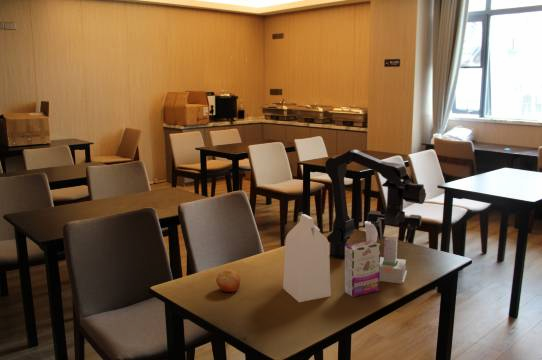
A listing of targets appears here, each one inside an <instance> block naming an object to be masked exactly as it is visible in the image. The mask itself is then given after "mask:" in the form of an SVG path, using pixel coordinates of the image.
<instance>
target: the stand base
mask: <svg viewBox="0 0 542 360" xmlns="http://www.w3.org/2000/svg"><path fill="white" fill-rule="evenodd" d="M383 261H384V256H383V257H382V256H380V278H379V282H386V283H393V284H394V283H395V284H401V285H404V284H405V282H406V281H405V280H406V278H407V274H408V270H406V269H407V266H406V265H407V259H402V258H397V263H396V266H391V265H384V264H383Z"/></svg>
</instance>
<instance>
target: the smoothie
mask: <svg viewBox="0 0 542 360" xmlns="http://www.w3.org/2000/svg"><path fill="white" fill-rule="evenodd" d="M364 226H365V238H366V241H374V242H376V243H377V241H378V233H377V230H376V227H375V226H374V224H371V222H368V221H367V220H366V221H364Z"/></svg>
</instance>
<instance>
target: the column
mask: <svg viewBox="0 0 542 360" xmlns="http://www.w3.org/2000/svg"><path fill="white" fill-rule="evenodd" d="M398 241H399V240H398V237H396V236H385V237H384V241H383V242H384V244H383V247H384V248H383V257H384V261H383V264H384V265H391V266H396V263H397V259H398Z"/></svg>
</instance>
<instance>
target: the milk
mask: <svg viewBox="0 0 542 360" xmlns="http://www.w3.org/2000/svg"><path fill="white" fill-rule="evenodd" d="M284 246H285V247H284V263H283V264H284V266H283V282H282V283H283V286H282V289H283V290H284V291H286V292H287V293H288V294H289V295H290V296H291V297H292V298H293V299H295V300H296V301H297V302H298V303H303V302H306V301H307V302H308V301H311V300H312V301H313V300H317V299H322V298H328V297H331V296H332V293H331V269H330V265H331V264H330V257H329V255H330V242H328V240H327V236H325V235H323V234H322V232H321V229H320V228H319V227H318V226H317V225H315V221H314V218H313V217H312V216H309V215H307V214H305V213H303V214H302V213H301V214H300V217H299V222H297V224H295V225H294V226H293V227H292V228H291V229H290V231H289V232H288V233H287V235H286V236H285V245H284Z"/></svg>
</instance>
